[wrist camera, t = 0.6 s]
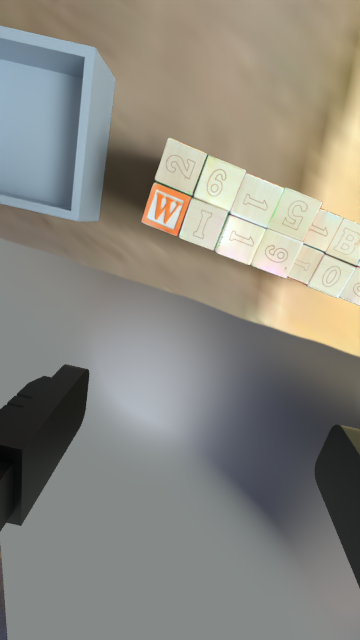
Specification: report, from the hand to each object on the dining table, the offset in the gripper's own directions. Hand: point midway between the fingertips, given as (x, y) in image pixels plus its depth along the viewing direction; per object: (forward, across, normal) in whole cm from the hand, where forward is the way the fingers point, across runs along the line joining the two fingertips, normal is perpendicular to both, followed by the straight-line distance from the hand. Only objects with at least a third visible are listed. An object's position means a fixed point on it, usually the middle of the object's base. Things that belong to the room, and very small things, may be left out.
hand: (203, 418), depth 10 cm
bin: (+28, +20, -10) cm, 36 cm away
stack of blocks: (+28, -5, -6) cm, 29 cm away
